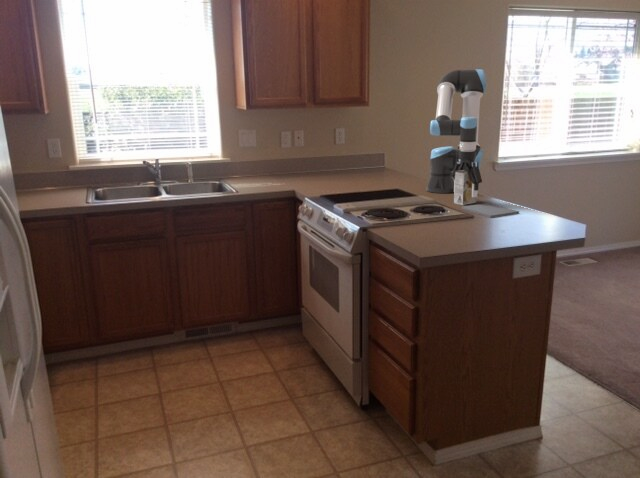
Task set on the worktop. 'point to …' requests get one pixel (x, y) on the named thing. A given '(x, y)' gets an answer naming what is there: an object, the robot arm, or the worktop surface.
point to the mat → (490, 210)
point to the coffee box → (463, 188)
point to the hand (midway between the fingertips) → (465, 194)
